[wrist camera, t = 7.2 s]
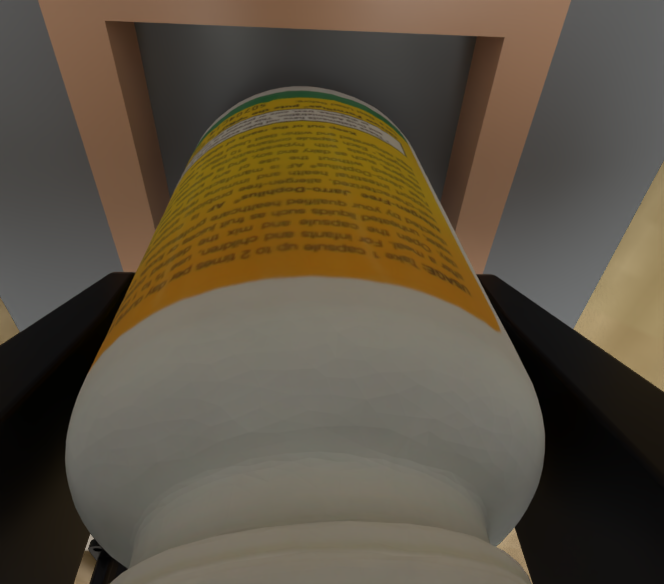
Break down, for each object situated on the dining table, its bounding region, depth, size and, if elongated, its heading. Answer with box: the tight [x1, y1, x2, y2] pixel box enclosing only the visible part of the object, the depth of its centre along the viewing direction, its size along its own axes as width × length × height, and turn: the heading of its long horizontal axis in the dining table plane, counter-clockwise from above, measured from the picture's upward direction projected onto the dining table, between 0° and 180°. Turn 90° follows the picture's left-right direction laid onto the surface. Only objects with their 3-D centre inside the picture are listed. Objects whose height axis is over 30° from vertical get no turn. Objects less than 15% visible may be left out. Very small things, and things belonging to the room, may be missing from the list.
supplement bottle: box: [65, 86, 545, 584], centre depth 7 cm, size 5×5×10 cm
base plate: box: [0, 0, 664, 332], centre depth 11 cm, size 18×18×2 cm
